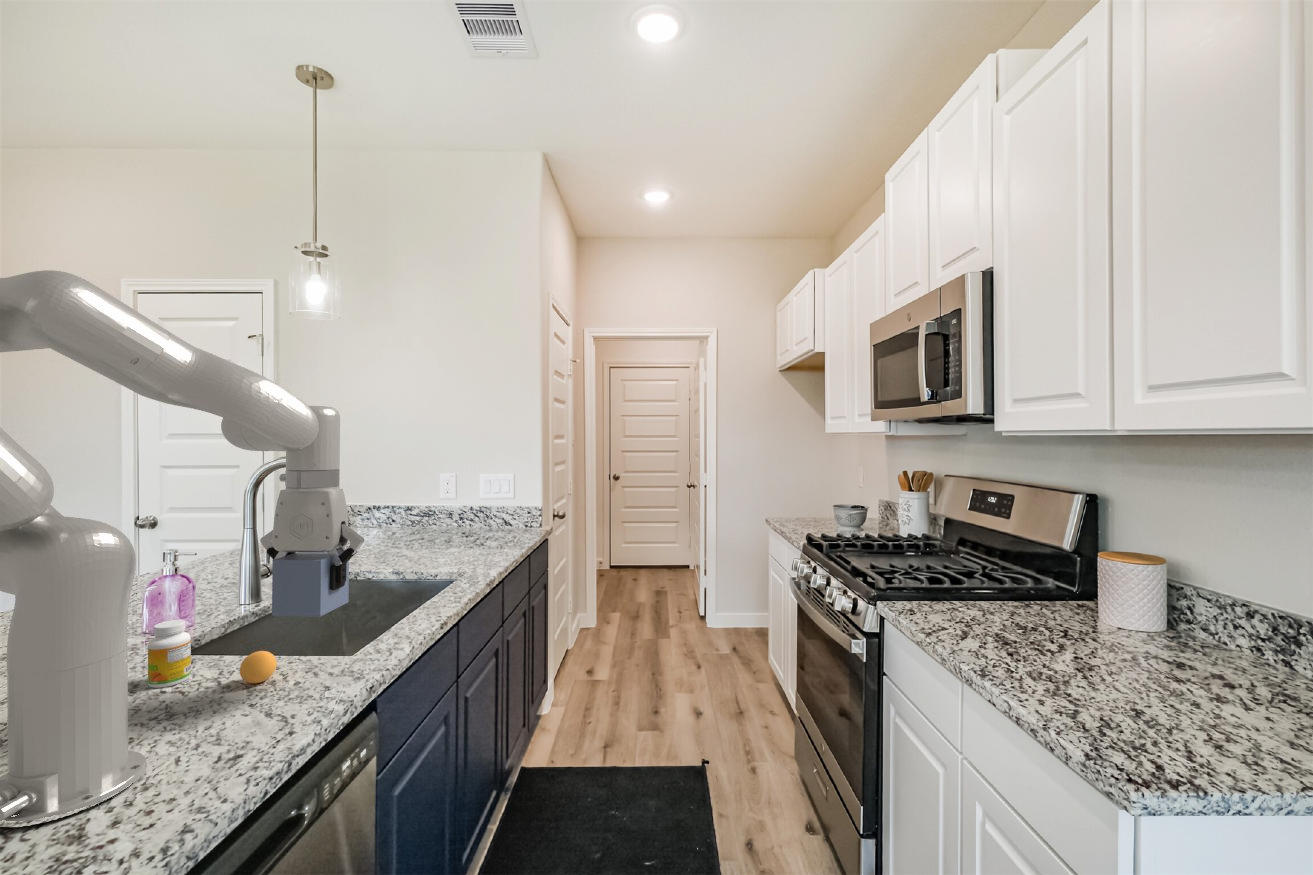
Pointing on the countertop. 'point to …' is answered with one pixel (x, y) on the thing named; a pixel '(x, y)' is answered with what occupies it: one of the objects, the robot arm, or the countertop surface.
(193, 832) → the countertop surface
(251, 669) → the egg
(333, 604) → the slate blue rectangular box
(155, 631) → the supplement bottle
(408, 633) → the countertop surface
